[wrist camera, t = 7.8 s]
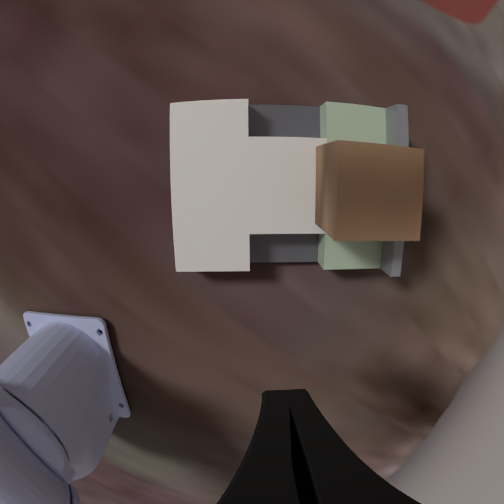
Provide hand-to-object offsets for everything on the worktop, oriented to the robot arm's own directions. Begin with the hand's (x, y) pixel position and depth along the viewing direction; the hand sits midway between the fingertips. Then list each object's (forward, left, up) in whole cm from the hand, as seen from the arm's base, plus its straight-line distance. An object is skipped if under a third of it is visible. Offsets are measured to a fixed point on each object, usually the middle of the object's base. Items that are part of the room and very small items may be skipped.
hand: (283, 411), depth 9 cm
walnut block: (+6, -4, -8) cm, 11 cm away
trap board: (+6, -1, -10) cm, 12 cm away
